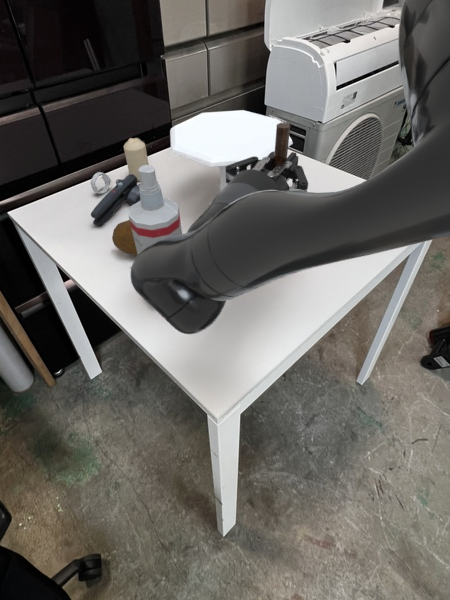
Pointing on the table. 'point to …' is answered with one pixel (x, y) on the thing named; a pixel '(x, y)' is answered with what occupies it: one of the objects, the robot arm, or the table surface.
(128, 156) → the candle
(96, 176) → the wristwatch
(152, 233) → the spray bottle
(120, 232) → the potato
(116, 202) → the can opener
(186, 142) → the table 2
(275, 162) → the stirrer
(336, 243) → the robot arm
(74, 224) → the table surface
